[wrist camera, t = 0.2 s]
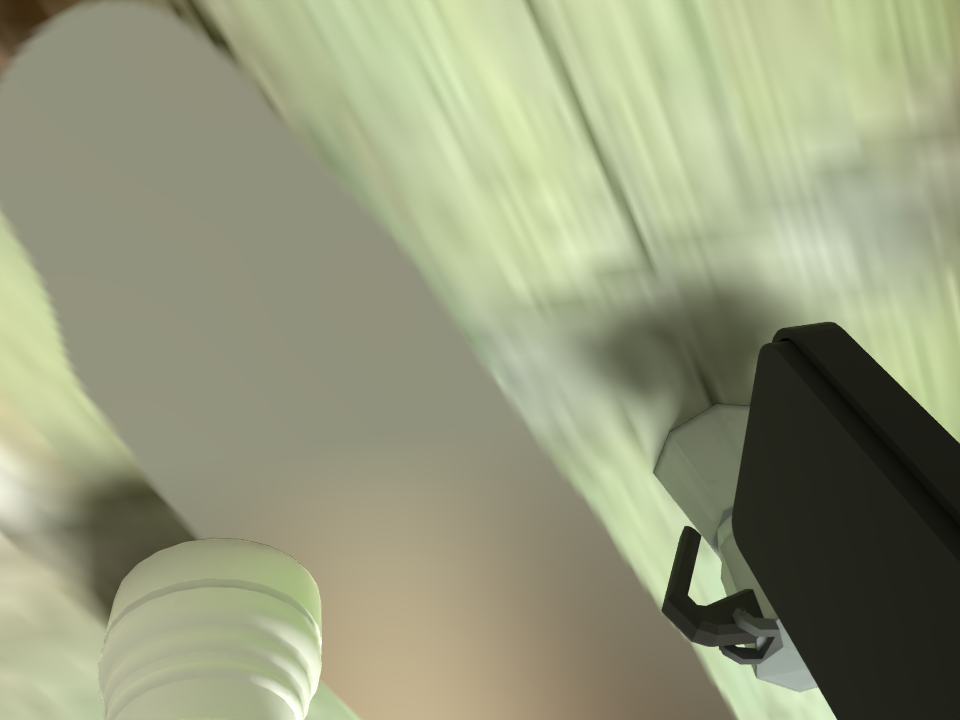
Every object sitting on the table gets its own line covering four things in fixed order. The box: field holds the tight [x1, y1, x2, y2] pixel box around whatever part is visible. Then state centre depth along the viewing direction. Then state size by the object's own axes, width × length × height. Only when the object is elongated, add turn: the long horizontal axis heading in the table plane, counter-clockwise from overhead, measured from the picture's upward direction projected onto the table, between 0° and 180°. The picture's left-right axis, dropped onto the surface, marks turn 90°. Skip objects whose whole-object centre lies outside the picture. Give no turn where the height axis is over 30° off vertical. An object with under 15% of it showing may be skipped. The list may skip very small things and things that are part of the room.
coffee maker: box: [654, 404, 818, 692], centre depth 46 cm, size 15×9×18 cm, turn 78°
